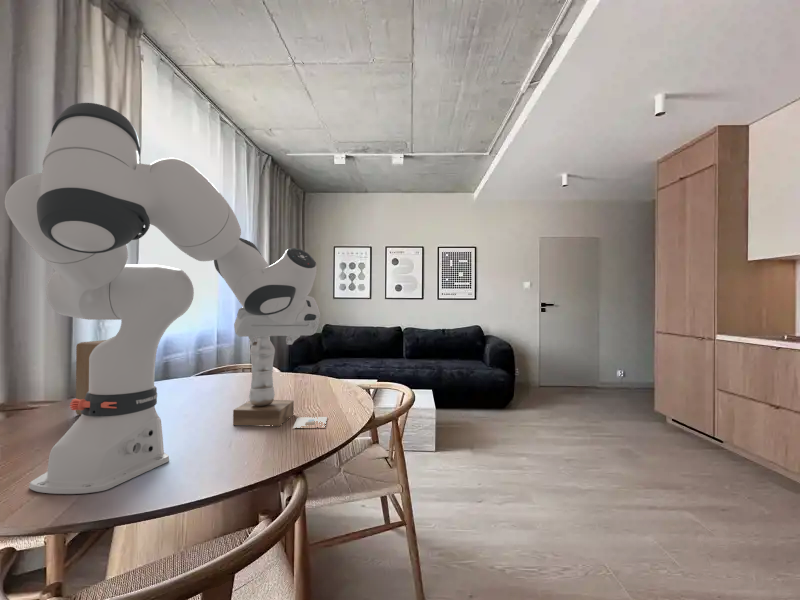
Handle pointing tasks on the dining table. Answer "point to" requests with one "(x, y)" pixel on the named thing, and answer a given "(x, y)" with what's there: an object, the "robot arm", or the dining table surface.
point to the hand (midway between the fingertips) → (271, 343)
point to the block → (83, 368)
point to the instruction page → (308, 421)
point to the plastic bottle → (262, 372)
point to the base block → (263, 413)
